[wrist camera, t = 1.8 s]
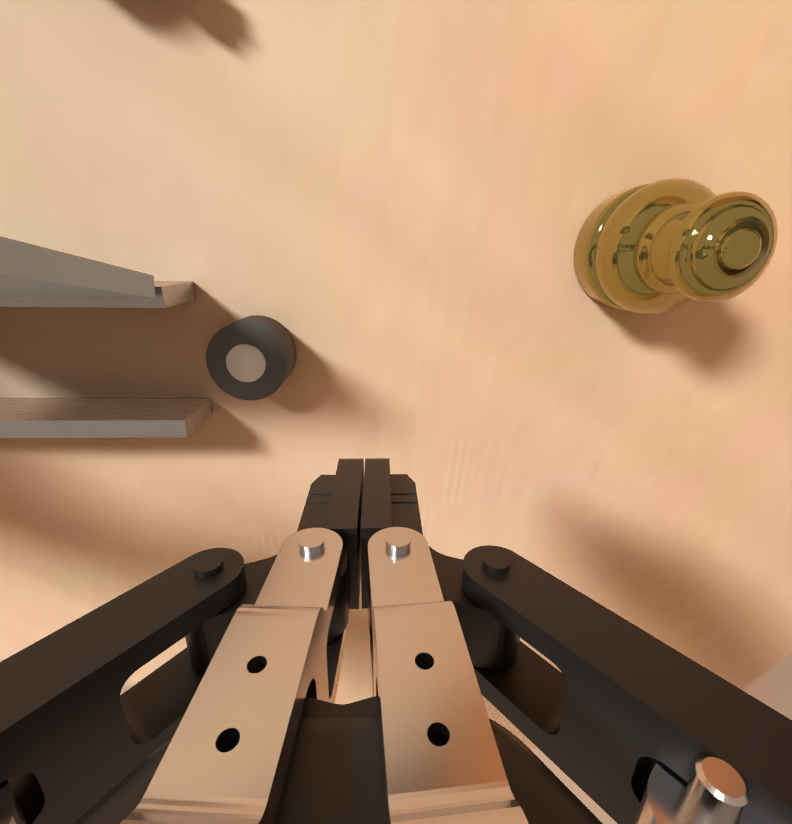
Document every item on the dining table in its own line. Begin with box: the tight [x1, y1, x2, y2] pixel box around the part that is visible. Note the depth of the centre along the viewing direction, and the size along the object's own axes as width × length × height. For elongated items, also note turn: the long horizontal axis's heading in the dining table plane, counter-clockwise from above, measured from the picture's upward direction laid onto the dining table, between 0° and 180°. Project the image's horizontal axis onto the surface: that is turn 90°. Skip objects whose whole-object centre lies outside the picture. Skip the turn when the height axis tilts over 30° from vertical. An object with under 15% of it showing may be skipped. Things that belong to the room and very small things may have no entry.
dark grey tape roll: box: [206, 316, 296, 400], centre depth 29 cm, size 5×5×4 cm
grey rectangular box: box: [0, 281, 212, 438], centre depth 28 cm, size 21×9×4 cm, turn 89°
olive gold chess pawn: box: [574, 178, 778, 315], centre depth 24 cm, size 7×7×10 cm
